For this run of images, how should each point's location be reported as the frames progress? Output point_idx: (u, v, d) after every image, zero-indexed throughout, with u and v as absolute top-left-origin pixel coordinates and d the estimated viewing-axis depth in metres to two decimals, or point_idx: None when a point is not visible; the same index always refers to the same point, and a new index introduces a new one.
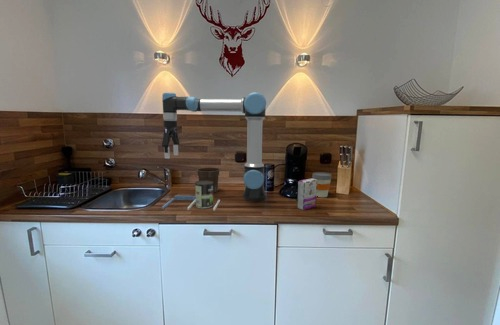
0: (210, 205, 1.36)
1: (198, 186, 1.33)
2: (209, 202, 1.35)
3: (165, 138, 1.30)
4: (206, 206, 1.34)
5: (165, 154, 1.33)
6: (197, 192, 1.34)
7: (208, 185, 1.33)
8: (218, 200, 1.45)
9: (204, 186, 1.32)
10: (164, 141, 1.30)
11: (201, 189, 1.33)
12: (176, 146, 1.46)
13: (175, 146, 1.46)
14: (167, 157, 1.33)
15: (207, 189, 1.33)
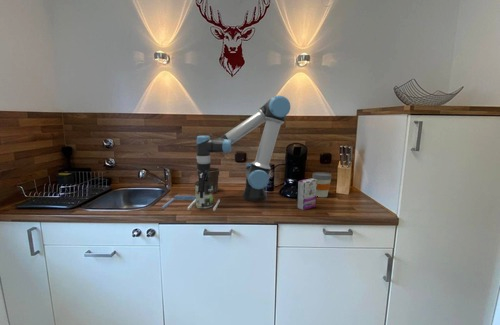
0: (210, 205, 1.36)
1: None
2: (209, 202, 1.35)
3: (200, 184, 1.29)
4: (206, 206, 1.34)
5: (200, 199, 1.33)
6: (197, 192, 1.34)
7: (208, 185, 1.33)
8: (218, 200, 1.45)
9: (204, 186, 1.32)
10: (200, 187, 1.29)
11: None
12: None
13: None
14: (202, 202, 1.33)
15: (207, 189, 1.33)
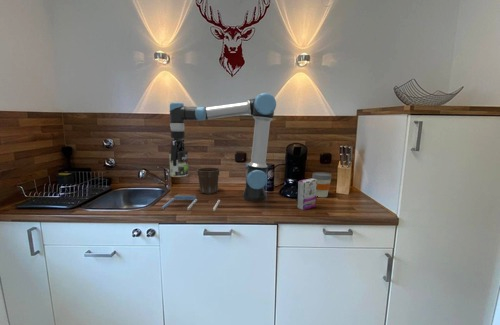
0: (184, 174, 1.34)
1: None
2: (183, 171, 1.33)
3: (173, 151, 1.27)
4: (180, 175, 1.32)
5: (173, 167, 1.31)
6: (171, 160, 1.32)
7: (182, 153, 1.31)
8: (218, 200, 1.45)
9: (177, 153, 1.30)
10: (172, 154, 1.27)
11: None
12: None
13: None
14: (176, 170, 1.31)
15: (181, 157, 1.31)
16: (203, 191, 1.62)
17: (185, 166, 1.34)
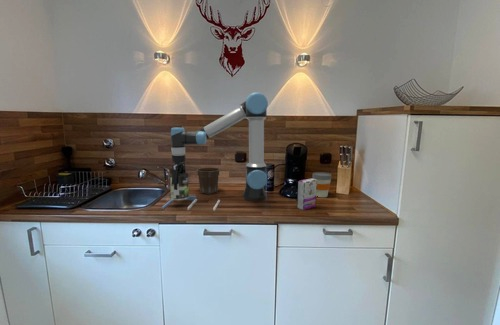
0: (185, 197, 1.36)
1: None
2: (184, 194, 1.35)
3: (174, 175, 1.29)
4: (181, 198, 1.35)
5: (174, 191, 1.33)
6: (172, 184, 1.34)
7: (182, 177, 1.33)
8: (218, 200, 1.45)
9: (178, 177, 1.32)
10: (173, 179, 1.29)
11: None
12: None
13: None
14: (176, 194, 1.33)
15: (181, 181, 1.33)
16: (203, 191, 1.62)
17: (186, 189, 1.36)
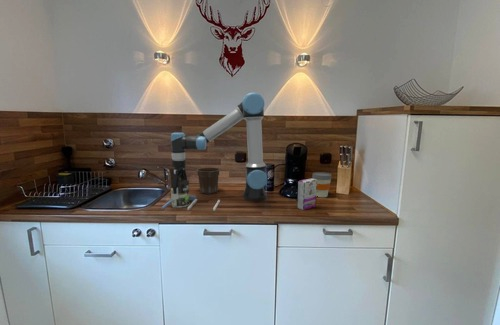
0: (185, 204, 1.37)
1: None
2: (184, 201, 1.36)
3: (174, 179, 1.29)
4: (181, 205, 1.35)
5: (174, 195, 1.32)
6: (172, 191, 1.35)
7: (183, 184, 1.34)
8: (218, 200, 1.45)
9: (179, 185, 1.33)
10: (173, 183, 1.28)
11: None
12: None
13: None
14: (176, 198, 1.32)
15: (182, 188, 1.34)
16: (203, 191, 1.62)
17: (186, 197, 1.37)
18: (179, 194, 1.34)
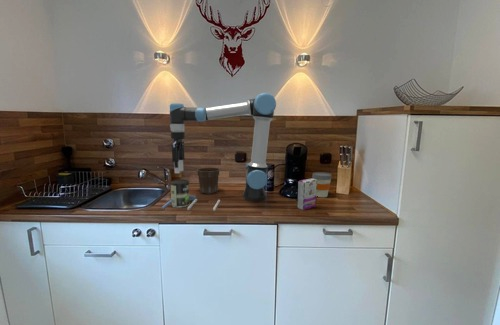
0: (185, 204, 1.37)
1: (173, 185, 1.34)
2: (184, 201, 1.36)
3: (174, 153, 1.29)
4: (181, 205, 1.35)
5: (175, 169, 1.33)
6: (172, 191, 1.35)
7: (183, 184, 1.34)
8: (218, 200, 1.45)
9: (179, 185, 1.33)
10: (174, 156, 1.29)
11: (176, 188, 1.33)
12: (181, 161, 1.39)
13: (180, 161, 1.39)
14: (177, 172, 1.33)
15: (182, 188, 1.34)
16: (203, 191, 1.62)
17: (186, 196, 1.37)
18: (179, 194, 1.34)
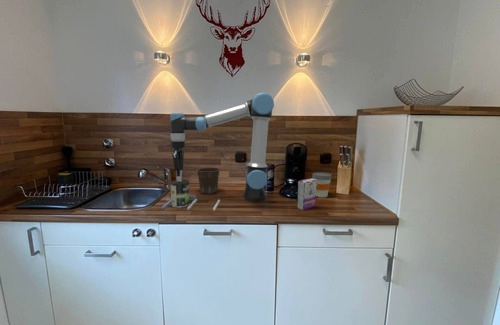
0: (185, 204, 1.37)
1: (173, 185, 1.34)
2: (184, 201, 1.36)
3: (176, 163, 1.31)
4: (181, 205, 1.35)
5: (177, 177, 1.37)
6: (172, 191, 1.35)
7: (183, 184, 1.34)
8: (218, 200, 1.45)
9: (179, 185, 1.33)
10: (176, 166, 1.32)
11: (176, 188, 1.33)
12: None
13: None
14: (179, 180, 1.37)
15: (182, 188, 1.34)
16: (203, 191, 1.62)
17: (186, 197, 1.37)
18: (179, 194, 1.34)
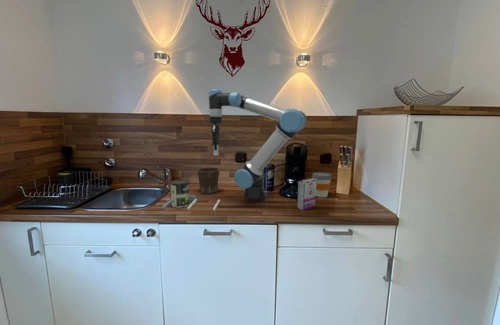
0: (185, 204, 1.37)
1: (173, 185, 1.34)
2: (184, 201, 1.36)
3: (214, 137, 1.40)
4: (181, 205, 1.35)
5: (214, 151, 1.45)
6: (172, 191, 1.35)
7: (183, 184, 1.34)
8: (218, 200, 1.45)
9: (179, 185, 1.33)
10: (214, 140, 1.41)
11: (176, 188, 1.33)
12: None
13: None
14: (216, 154, 1.45)
15: (182, 188, 1.34)
16: (203, 191, 1.62)
17: (186, 197, 1.37)
18: (179, 194, 1.34)
